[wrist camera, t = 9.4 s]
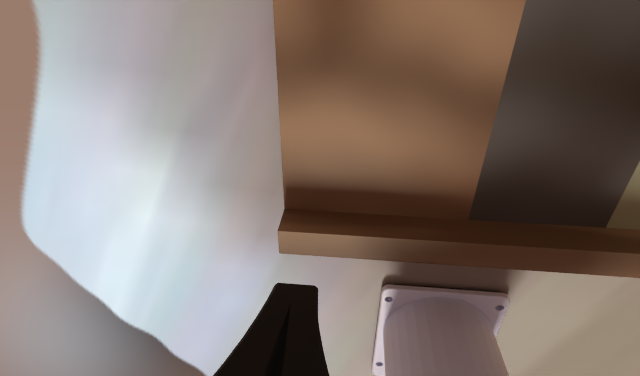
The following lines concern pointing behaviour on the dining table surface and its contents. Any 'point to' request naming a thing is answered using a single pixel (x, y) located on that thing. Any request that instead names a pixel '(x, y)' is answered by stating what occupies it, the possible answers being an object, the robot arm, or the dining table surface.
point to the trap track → (462, 132)
